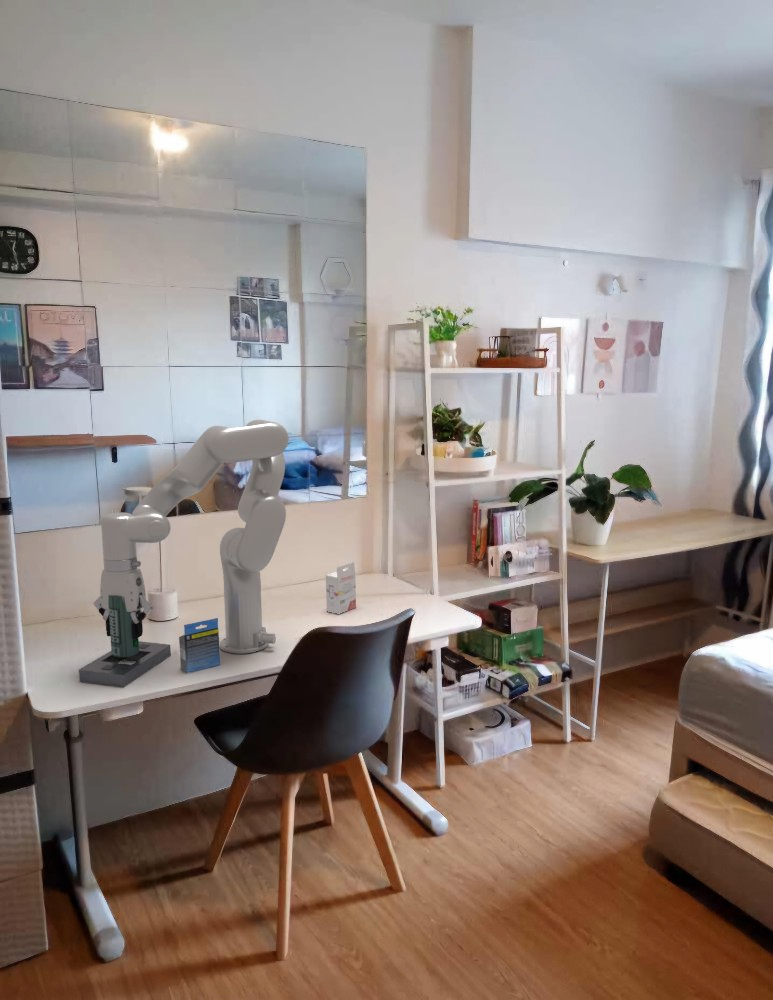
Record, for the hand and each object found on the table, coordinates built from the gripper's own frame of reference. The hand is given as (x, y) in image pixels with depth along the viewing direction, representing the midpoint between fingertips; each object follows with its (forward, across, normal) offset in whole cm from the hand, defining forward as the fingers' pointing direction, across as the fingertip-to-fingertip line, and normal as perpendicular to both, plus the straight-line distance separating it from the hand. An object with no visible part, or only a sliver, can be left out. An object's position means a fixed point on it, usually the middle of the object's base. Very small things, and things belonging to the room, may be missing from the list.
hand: (124, 635), depth 183 cm
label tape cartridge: (+9, -17, -6) cm, 20 cm away
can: (+5, 0, 0) cm, 5 cm away
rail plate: (+8, 0, 0) cm, 8 cm away
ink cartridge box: (+8, -36, -57) cm, 68 cm away
